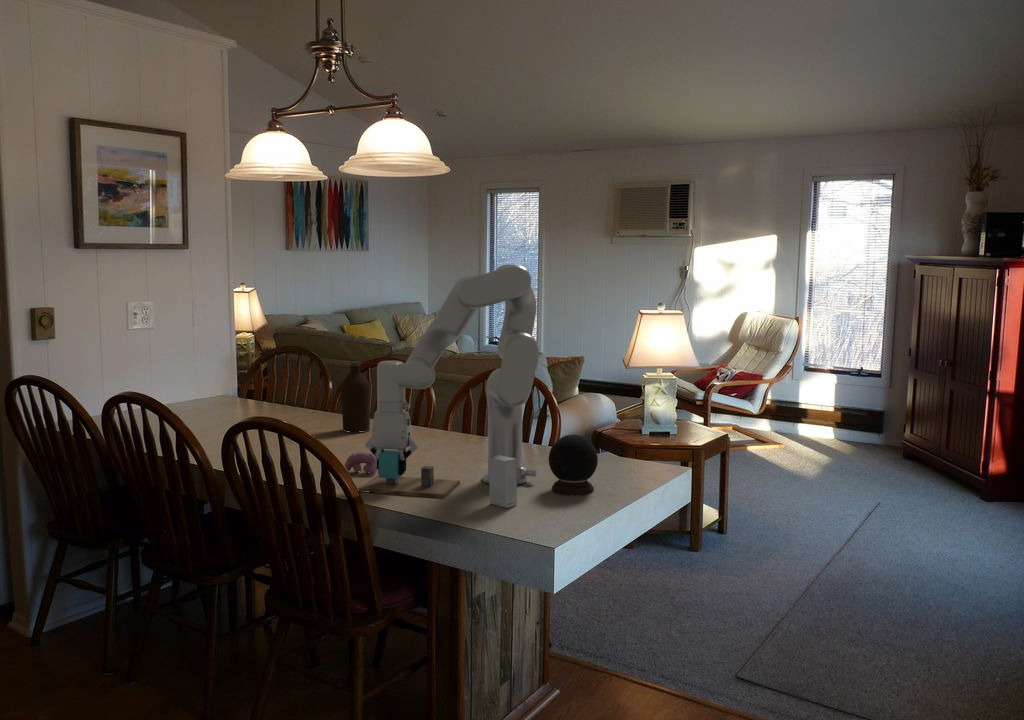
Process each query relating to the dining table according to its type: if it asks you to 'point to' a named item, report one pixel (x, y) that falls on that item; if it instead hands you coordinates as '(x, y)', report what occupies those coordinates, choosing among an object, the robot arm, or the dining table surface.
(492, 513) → the dining table surface
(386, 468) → the turquoise toy cube
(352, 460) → the video game controller
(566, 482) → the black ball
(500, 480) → the skincare box
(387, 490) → the flat wooden board
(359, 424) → the olive oil
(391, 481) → the grey block
